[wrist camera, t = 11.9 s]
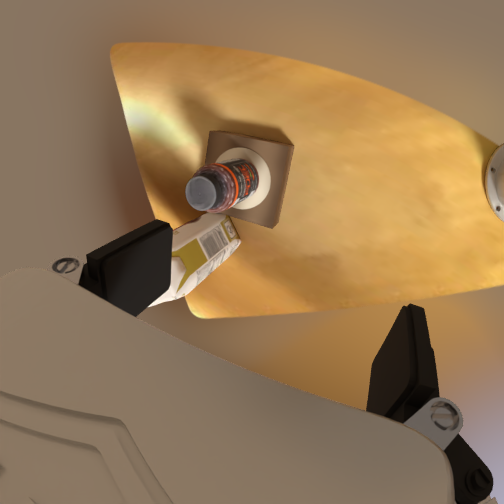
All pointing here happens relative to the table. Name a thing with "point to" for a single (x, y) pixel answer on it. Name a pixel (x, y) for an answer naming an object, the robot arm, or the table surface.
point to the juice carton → (199, 252)
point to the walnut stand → (269, 170)
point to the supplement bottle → (222, 185)
